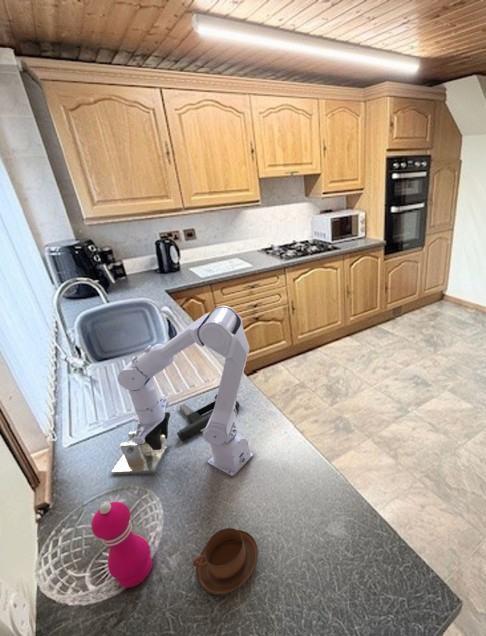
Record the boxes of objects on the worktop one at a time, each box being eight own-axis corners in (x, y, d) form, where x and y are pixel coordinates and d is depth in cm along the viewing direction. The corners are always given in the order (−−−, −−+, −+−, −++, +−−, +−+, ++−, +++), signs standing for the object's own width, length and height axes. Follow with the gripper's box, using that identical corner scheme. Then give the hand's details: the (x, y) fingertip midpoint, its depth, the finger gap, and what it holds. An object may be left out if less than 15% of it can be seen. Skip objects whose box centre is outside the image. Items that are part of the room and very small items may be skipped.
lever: (169, 437, 94) (164, 429, 93) (164, 446, 91) (159, 437, 90) (136, 443, 95) (130, 435, 94) (129, 452, 92) (124, 444, 91)
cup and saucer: (210, 614, 63) (203, 596, 60) (190, 559, 72) (183, 540, 69) (269, 570, 69) (265, 552, 66) (244, 524, 78) (240, 506, 75)
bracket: (168, 447, 100) (161, 425, 96) (153, 473, 92) (145, 450, 88) (130, 448, 100) (121, 426, 96) (112, 474, 92) (102, 451, 88)
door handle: (160, 413, 109) (181, 436, 98) (218, 384, 122) (242, 402, 111) (163, 421, 111) (184, 445, 100) (219, 392, 123) (244, 411, 112)
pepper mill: (145, 544, 75) (116, 480, 66) (161, 567, 71) (133, 501, 62) (109, 573, 70) (73, 508, 61) (125, 599, 66) (88, 533, 57)
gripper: (145, 386, 94) (157, 424, 99) (114, 424, 80) (131, 465, 86) (170, 385, 93) (182, 423, 99) (144, 423, 80) (159, 465, 86)
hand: (160, 443), depth 93 cm, fingers closed on lever, 3 cm apart
